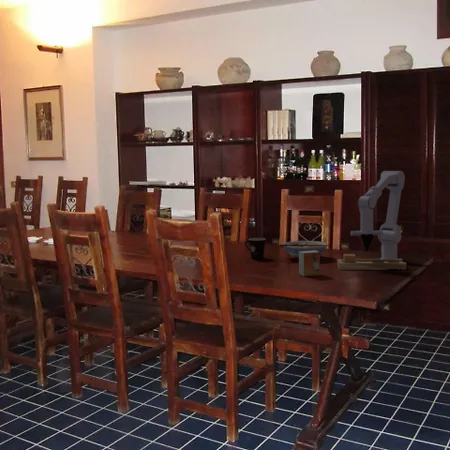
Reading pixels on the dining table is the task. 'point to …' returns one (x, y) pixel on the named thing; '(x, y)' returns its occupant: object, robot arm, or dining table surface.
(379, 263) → the trap lane
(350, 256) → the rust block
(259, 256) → the coffee mug
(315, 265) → the small box
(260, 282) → the dining table surface
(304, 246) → the ramen bowl
